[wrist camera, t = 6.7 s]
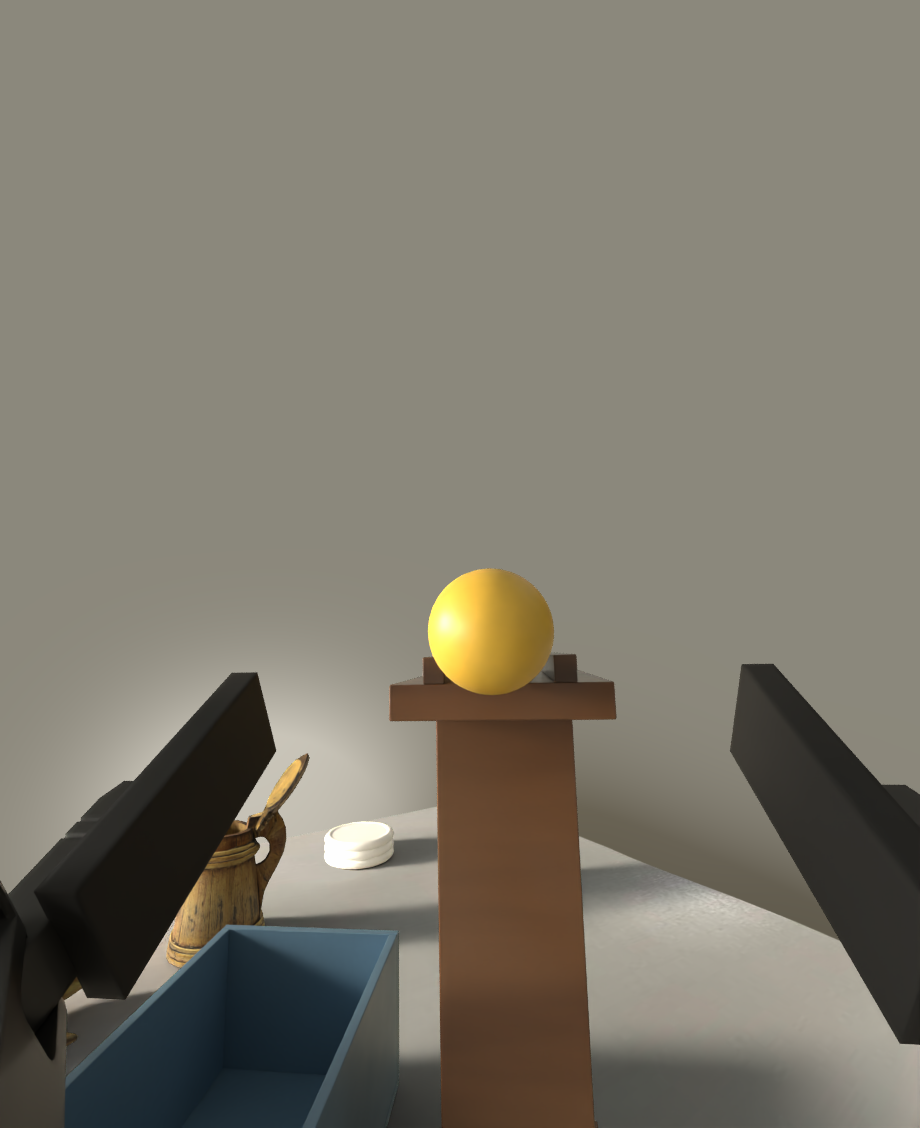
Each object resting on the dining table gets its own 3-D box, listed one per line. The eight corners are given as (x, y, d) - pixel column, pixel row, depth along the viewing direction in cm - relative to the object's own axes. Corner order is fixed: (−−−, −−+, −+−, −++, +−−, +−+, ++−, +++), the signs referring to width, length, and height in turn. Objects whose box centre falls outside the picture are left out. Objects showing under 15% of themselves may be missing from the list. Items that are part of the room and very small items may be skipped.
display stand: (672, 1512, 18) (612, 653, 23) (387, 1471, 19) (389, 658, 24) (607, 1152, 31) (578, 652, 35) (440, 1139, 32) (433, 655, 36)
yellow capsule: (562, 700, 15) (555, 555, 15) (417, 701, 15) (416, 561, 16) (536, 671, 35) (533, 608, 35) (474, 672, 35) (472, 610, 36)
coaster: (399, 844, 80) (399, 820, 81) (385, 871, 70) (385, 843, 71) (336, 843, 81) (337, 820, 82) (314, 870, 71) (314, 843, 72)
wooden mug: (313, 941, 54) (317, 759, 57) (163, 980, 48) (177, 775, 51) (298, 905, 62) (302, 747, 65) (168, 934, 56) (180, 759, 59)
